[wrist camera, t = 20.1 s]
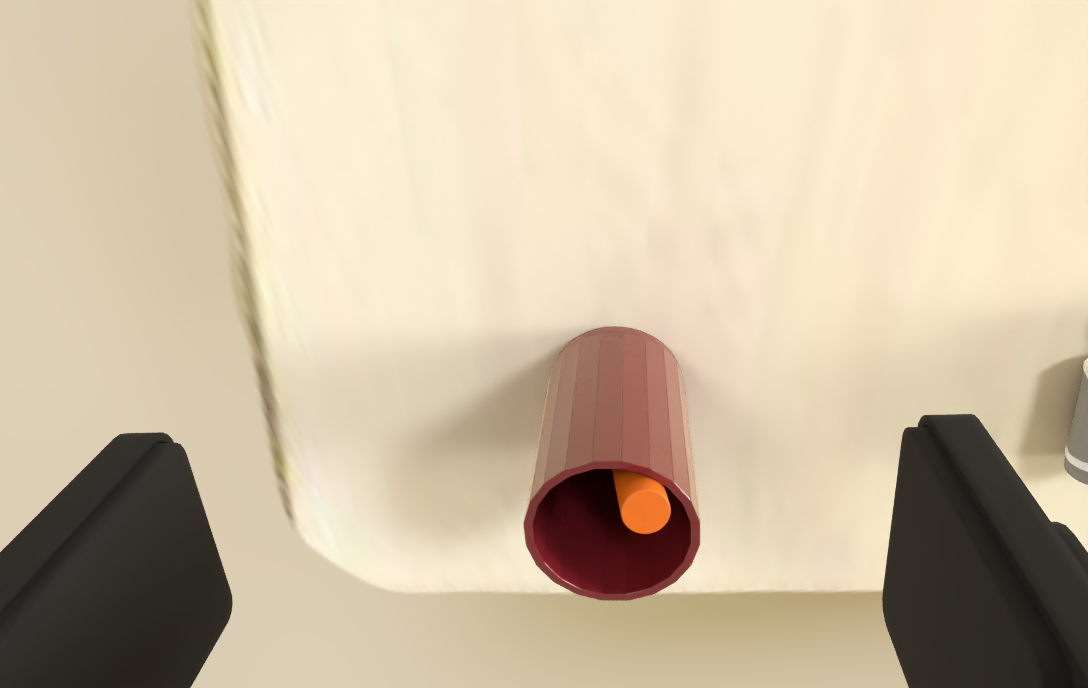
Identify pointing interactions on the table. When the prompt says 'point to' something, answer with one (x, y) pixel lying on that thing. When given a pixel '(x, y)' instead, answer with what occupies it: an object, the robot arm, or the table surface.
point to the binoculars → (1079, 435)
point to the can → (611, 467)
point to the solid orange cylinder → (641, 501)
